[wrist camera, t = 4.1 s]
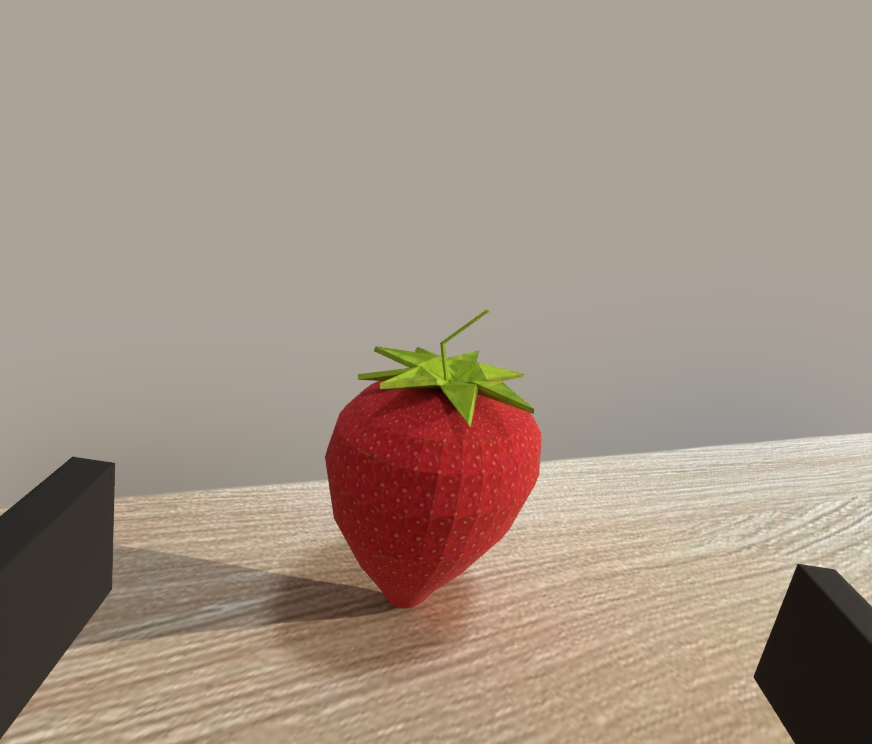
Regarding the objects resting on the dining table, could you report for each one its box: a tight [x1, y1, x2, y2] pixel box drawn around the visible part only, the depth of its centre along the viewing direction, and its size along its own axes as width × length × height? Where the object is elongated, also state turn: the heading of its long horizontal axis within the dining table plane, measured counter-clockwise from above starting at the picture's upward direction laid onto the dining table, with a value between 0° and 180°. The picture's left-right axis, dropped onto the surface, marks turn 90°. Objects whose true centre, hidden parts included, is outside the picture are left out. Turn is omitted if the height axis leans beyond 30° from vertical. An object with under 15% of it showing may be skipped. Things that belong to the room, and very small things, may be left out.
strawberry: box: [325, 310, 541, 608], centre depth 20 cm, size 6×8×10 cm
